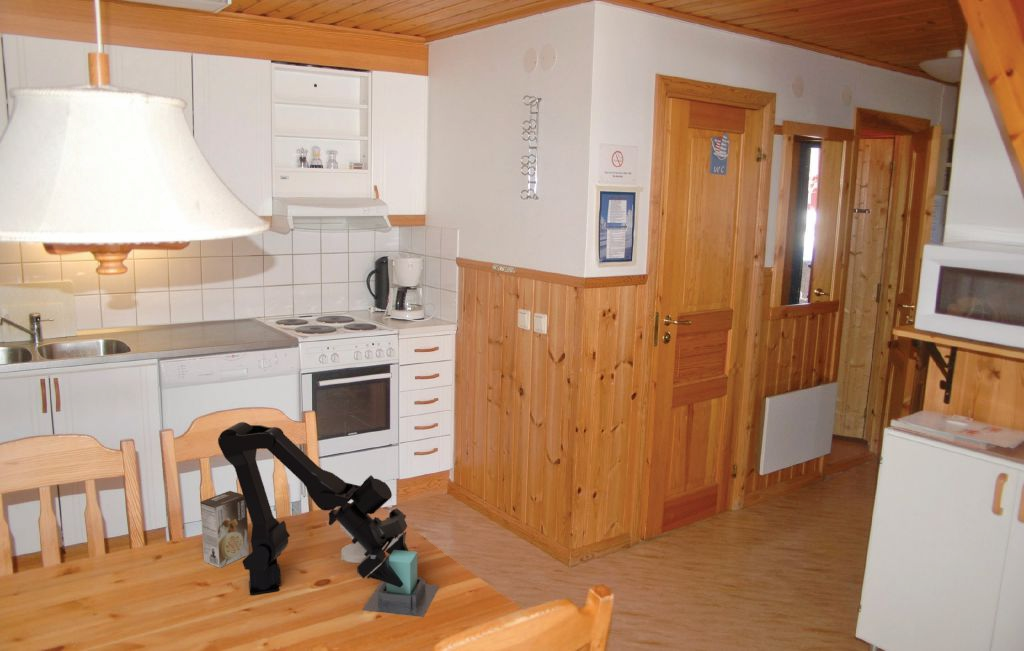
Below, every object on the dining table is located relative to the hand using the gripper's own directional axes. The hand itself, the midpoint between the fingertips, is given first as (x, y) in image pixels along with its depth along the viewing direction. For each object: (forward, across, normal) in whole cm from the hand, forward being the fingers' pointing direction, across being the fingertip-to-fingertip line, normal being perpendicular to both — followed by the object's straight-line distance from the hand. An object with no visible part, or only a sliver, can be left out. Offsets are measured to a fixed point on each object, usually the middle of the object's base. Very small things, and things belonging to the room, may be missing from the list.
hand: (407, 576), depth 177 cm
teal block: (+3, 0, +5) cm, 6 cm away
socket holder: (+4, 0, +6) cm, 7 cm away
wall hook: (-9, +19, +18) cm, 28 cm away
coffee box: (-31, +12, +41) cm, 53 cm away
